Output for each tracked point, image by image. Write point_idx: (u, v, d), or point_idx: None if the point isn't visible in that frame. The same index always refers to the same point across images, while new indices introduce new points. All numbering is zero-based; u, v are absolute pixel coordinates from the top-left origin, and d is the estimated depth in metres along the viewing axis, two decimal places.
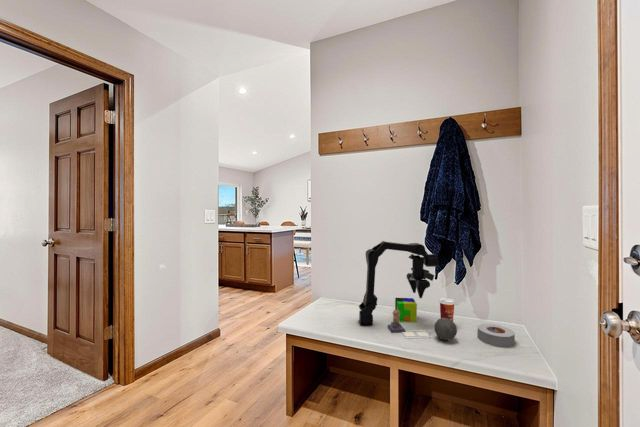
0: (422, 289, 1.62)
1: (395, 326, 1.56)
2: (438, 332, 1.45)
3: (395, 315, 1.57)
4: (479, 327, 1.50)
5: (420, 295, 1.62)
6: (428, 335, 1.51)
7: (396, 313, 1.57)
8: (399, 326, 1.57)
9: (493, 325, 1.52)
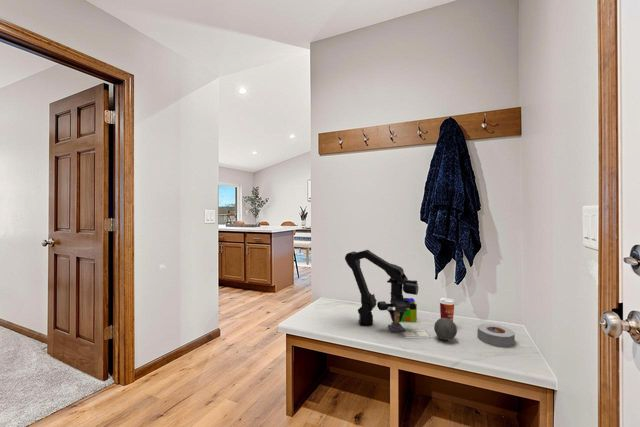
0: None
1: (395, 326, 1.56)
2: (438, 332, 1.45)
3: (395, 315, 1.57)
4: (479, 327, 1.50)
5: (391, 318, 1.59)
6: (428, 335, 1.51)
7: (396, 313, 1.57)
8: (399, 326, 1.57)
9: (493, 325, 1.52)
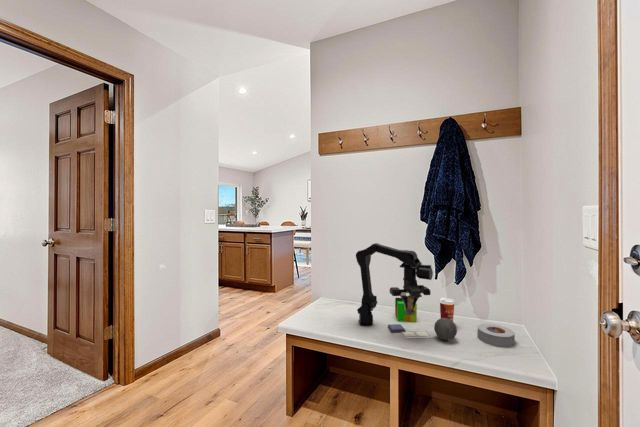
0: (404, 298, 1.52)
1: (409, 312, 1.50)
2: (438, 332, 1.45)
3: (408, 301, 1.51)
4: (479, 327, 1.50)
5: None
6: (428, 335, 1.51)
7: (410, 299, 1.51)
8: (413, 312, 1.51)
9: (493, 325, 1.52)
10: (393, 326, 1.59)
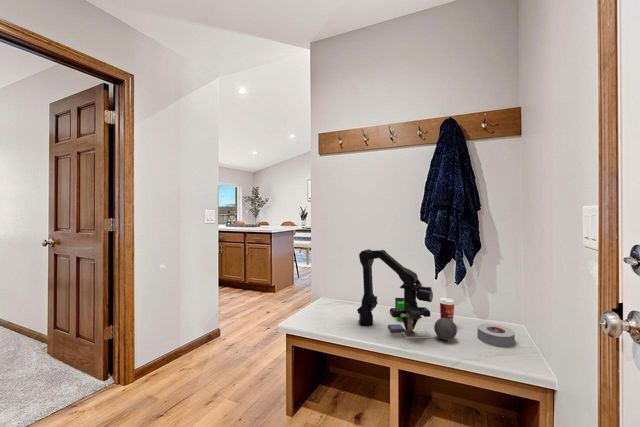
0: (404, 319, 1.52)
1: (408, 334, 1.51)
2: (438, 332, 1.45)
3: (408, 322, 1.51)
4: (479, 327, 1.50)
5: (404, 325, 1.53)
6: (428, 335, 1.51)
7: (409, 320, 1.51)
8: (412, 334, 1.51)
9: (493, 325, 1.52)
10: (393, 326, 1.59)
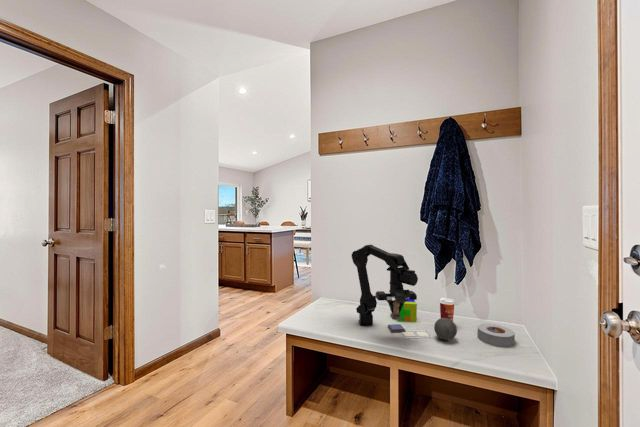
0: None
1: (394, 317, 1.48)
2: (438, 332, 1.45)
3: (394, 305, 1.48)
4: (479, 327, 1.50)
5: (390, 309, 1.50)
6: (428, 335, 1.51)
7: (395, 303, 1.48)
8: (399, 317, 1.48)
9: (493, 325, 1.52)
10: (393, 326, 1.59)
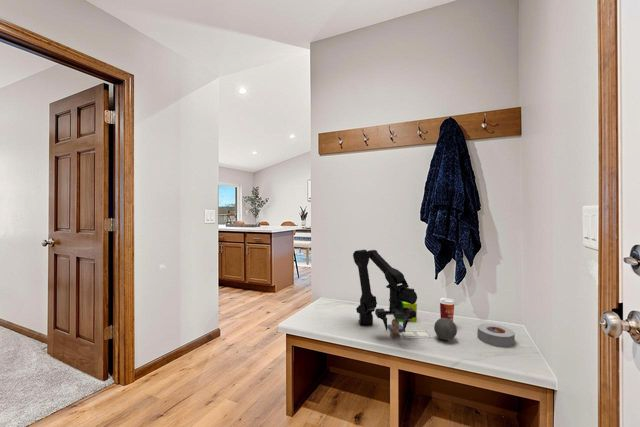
0: (384, 320, 1.49)
1: (394, 336, 1.48)
2: (438, 332, 1.45)
3: (394, 325, 1.49)
4: (479, 327, 1.50)
5: (385, 326, 1.50)
6: (428, 335, 1.51)
7: (395, 323, 1.48)
8: (398, 336, 1.48)
9: (493, 325, 1.52)
10: None
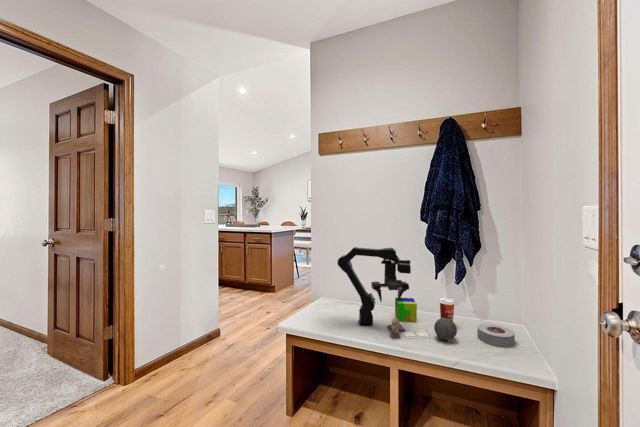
0: None
1: (394, 336, 1.48)
2: (438, 332, 1.45)
3: (394, 325, 1.49)
4: (479, 327, 1.50)
5: (379, 298, 1.63)
6: (428, 335, 1.51)
7: (395, 323, 1.48)
8: (398, 336, 1.48)
9: (493, 325, 1.52)
10: None
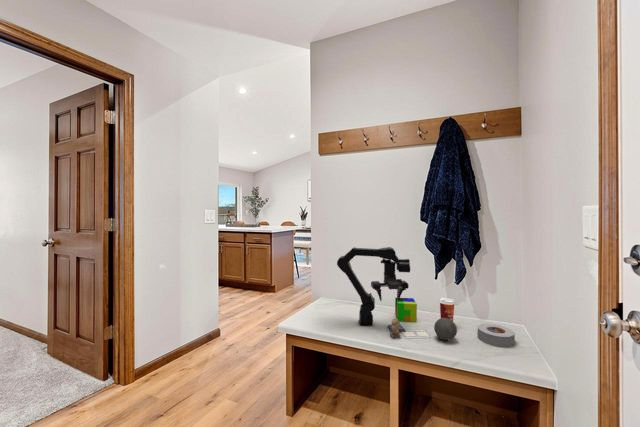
0: None
1: (394, 336, 1.48)
2: (438, 332, 1.45)
3: (394, 325, 1.49)
4: (479, 327, 1.50)
5: (379, 297, 1.64)
6: (428, 335, 1.51)
7: (395, 323, 1.48)
8: (398, 336, 1.48)
9: (493, 325, 1.52)
10: None
